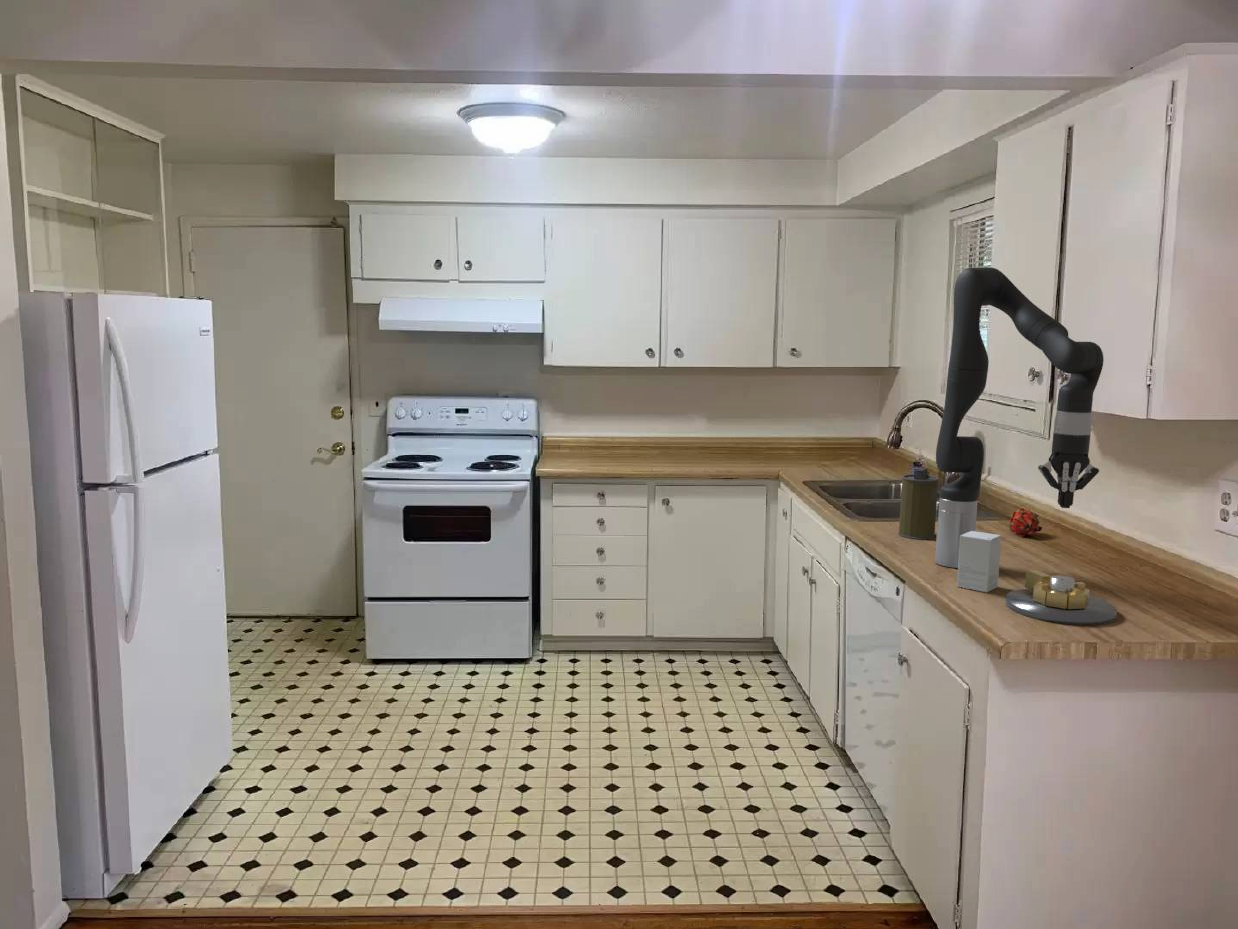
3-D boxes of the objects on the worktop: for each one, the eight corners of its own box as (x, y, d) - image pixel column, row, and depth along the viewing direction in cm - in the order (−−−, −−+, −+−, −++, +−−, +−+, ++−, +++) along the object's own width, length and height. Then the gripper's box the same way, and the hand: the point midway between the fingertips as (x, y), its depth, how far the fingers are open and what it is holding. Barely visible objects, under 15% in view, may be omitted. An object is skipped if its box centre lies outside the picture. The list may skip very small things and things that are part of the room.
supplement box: (998, 587, 222) (1002, 535, 220) (986, 593, 216) (991, 540, 214) (967, 581, 227) (971, 529, 225) (955, 587, 221) (959, 534, 219)
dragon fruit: (1021, 535, 285) (1028, 550, 274) (998, 518, 285) (1005, 532, 274) (1041, 515, 282) (1049, 529, 271) (1018, 498, 282) (1026, 511, 271)
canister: (930, 541, 268) (935, 472, 265) (893, 536, 274) (898, 468, 271) (939, 534, 277) (943, 467, 274) (903, 529, 283) (907, 464, 280)
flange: (987, 595, 215) (989, 565, 214) (1078, 594, 217) (1081, 565, 216) (1038, 626, 193) (1041, 593, 192) (1139, 624, 195) (1142, 592, 194)
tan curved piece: (1098, 607, 200) (1100, 588, 200) (1054, 609, 198) (1055, 590, 198) (1049, 586, 216) (1051, 568, 216) (1008, 588, 214) (1009, 570, 214)
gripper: (1096, 430, 212) (1088, 505, 215) (1035, 428, 214) (1028, 503, 217) (1109, 434, 205) (1101, 512, 208) (1046, 432, 206) (1039, 509, 209)
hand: (1064, 507), depth 212 cm, fingers closed
